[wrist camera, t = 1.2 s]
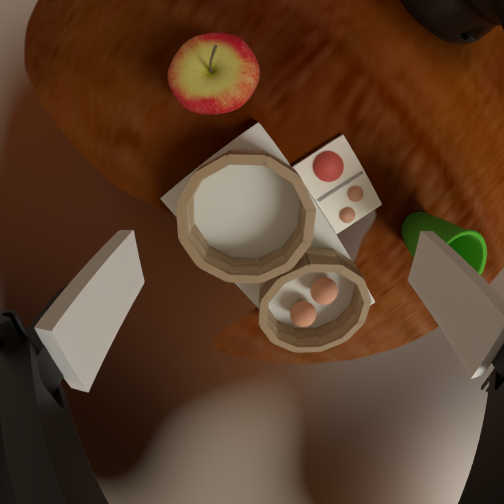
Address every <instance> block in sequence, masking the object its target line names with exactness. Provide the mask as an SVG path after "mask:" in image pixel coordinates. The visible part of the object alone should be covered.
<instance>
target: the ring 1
mask: <svg viewBox="0 0 504 504" xmlns="http://www.w3.org/2000/svg"><path fill="white" fill-rule="evenodd" d="M228 165H259V166H265V167H267V168H269V169H270V170H272V171H274V172H275V173H277V174H278V175H280V176H282V177H283V178H285V179H286V180H288V181H289V182H291V183H292V184H293V186H294V188H295V190H296V192H297V194H298V196H299V198H300V208H299V218H298V226H297V228H296V229H295V231H294V232H293V233H292V235H291V236H290V237H289V239H288V240H287V241H286V243H285V244H284V246H283V247H282V248H279V249H277V250H275V251H273V252H271V253H269V254H267V255H264V256H262V257H260V258H232V257H230V256H228V255H227V254H225V253H223V252H221V251H219V250H217V249H215V248H214V247H212V246H210V245H209V244H208V243H207V241H206V240H205V238H204V237H203V235H202V234H201V232H200V231H199V229H198V227H197V226H196V224H195V219H194V195H195V193H196V192H197V190H198V188H199V186H200V184H201V183H202V181H203V179H205V178H207V177H209V176H210V175H212V174H214V173H216V172H217V171H219V170H221V169H223V168H225V167H226V166H228ZM176 213H177V226H178V238H179V241H180V242H181V244H182V245H183V246H184V248H185V250H186V251H187V252H188V254H189V255H190V257H191V258H192V259H193V261H194V262H195V264H196V265H197V266H199V268H201V269H203V270H204V271H207V272H208V273H210V274H212V275H214V276H216V277H218V278H220V279H222V280H224V281H226V282H227V281H228V282H230V283H233V282H234V283H260V281H261V283H263V282H265V281H268V280H270V279H272V278H274V277H277V276H279V275H281V274H283V273H285V272H288V271H290V270H291V269H293V267H294V266H295V265H296V263H297V262H298V261H299V260H300V258H301V257H302V256H303V255H304V253H305V252H306V251H307V249H308V248H309V247H310V245H311V243H312V240H313V232H314V224H315V216H316V208H315V206H314V204H313V201H312V199H311V197H310V195H309V193H308V191H307V189H306V187H305V185H304V183H303V181H302V178H301V177H300V175H299V174H298V173H297V171H296V170H295V169H294V168H293V167H291V166H290V165H288V164H287V163H285V162H283V161H282V160H280V159H279V158H277V157H276V156H274V155H272V154H271V153H269V152H267V151H266V152H265V150H228V151H227V152H225V153H223V154H221V155H219V156H218V157H216V158H214V159H212V160H211V161H209V162H207V163H205V164H204V165H202V166H201V167H200V168H199V169H198V170H197V171H196V172H195V173H194V174H193V175H192V176H191V178H190V180H189V182H188V184H187V186H186V188H185V189H184V191H183V193H182V195H181V197H180V199H179V201H178V203H177V206H176Z"/></svg>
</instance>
